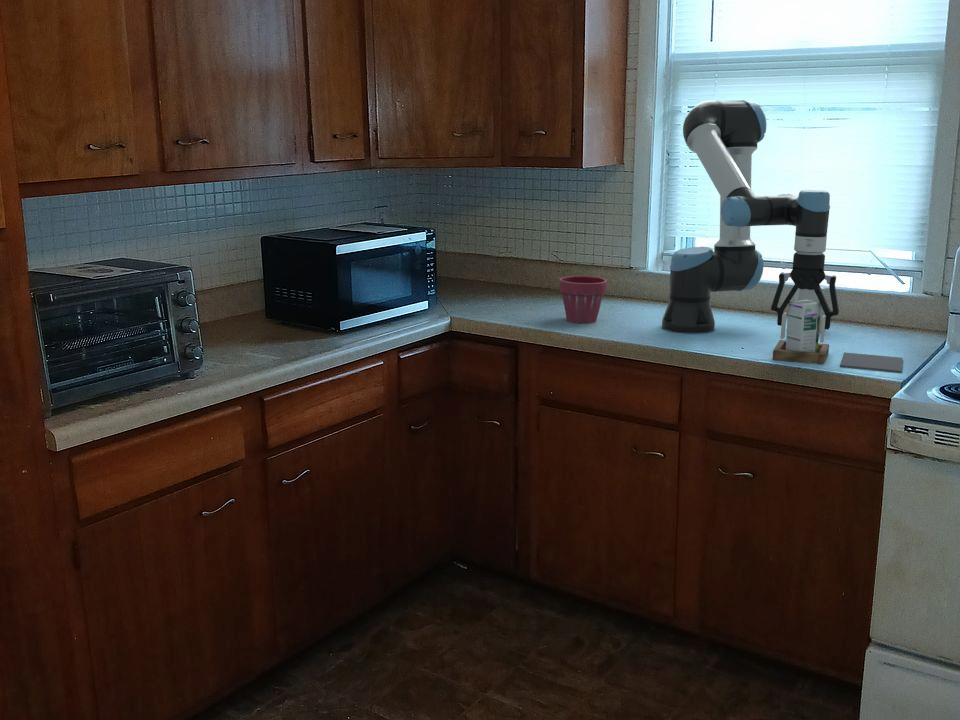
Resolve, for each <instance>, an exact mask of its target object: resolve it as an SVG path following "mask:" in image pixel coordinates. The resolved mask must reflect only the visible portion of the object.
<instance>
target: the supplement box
mask: <svg viewBox="0 0 960 720" xmlns="http://www.w3.org/2000/svg"><path fill="white" fill-rule="evenodd" d="M819 285H820V287H821V290H822V293H823V295H824V297H825V296H826V288H825V286H823V285H822V284H819ZM794 296H795V297H794V301H801V300H812V301H816V302H819V300H818V297H817V295H816V293H815V291H814V289H813V290H808V289H799V288H798V289H797V291H796V292H795V294H794ZM825 298H826V297H825ZM819 303H820V302H819ZM823 315H824V311H823V309H822V306H821V312H820V326H819V333H821V326H822V317H823Z"/></svg>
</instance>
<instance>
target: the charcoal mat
mask: <svg viewBox="0 0 960 720" xmlns="http://www.w3.org/2000/svg"><path fill="white" fill-rule="evenodd" d="M839 367H840V368H846V367H847V369H858V370H859V369H860V370H867V369H868V371H869V370H870V371H877V370H879V372H890V373H900V374H902V367H903V357H899V356H887V355H880V354H879V355H877V354H867V353H857V352H856V353H855V352H846V351H845V352H843V354H842V358H841V361H840V364H839Z"/></svg>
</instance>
